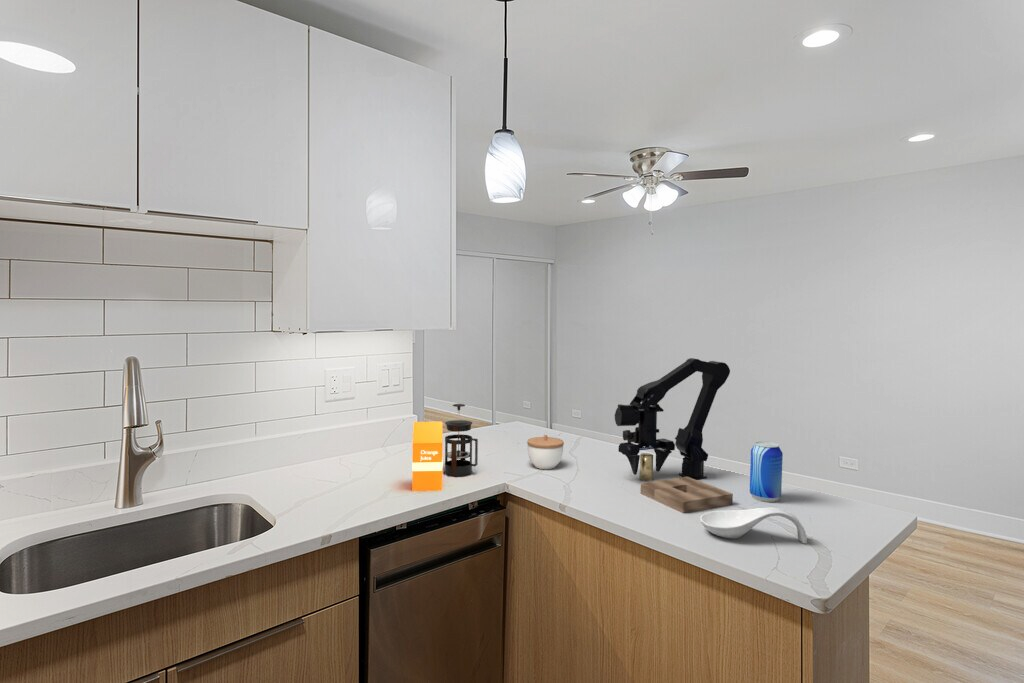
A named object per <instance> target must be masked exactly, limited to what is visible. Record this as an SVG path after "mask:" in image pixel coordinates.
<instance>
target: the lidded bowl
mask: <svg viewBox="0 0 1024 683" xmlns="http://www.w3.org/2000/svg"><path fill="white" fill-rule="evenodd" d="M526 442H527V443H526V444H527V454H528V458H529V460H530V462H531V463H532V465H533V466H534V467H535V468H536V469H538V468H539V470H552V468H553V469H555V468H556V466H558V464H559V463H560V462H561V460H562V458H563V454H564V444H565V442H564V440H563V439H561V438H557V437H553V436H548V434H544V435H543V436H537V437H530V438H529V439H527V441H526Z"/></svg>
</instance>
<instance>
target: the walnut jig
mask: <svg viewBox="0 0 1024 683" xmlns="http://www.w3.org/2000/svg"><path fill="white" fill-rule="evenodd" d="M640 494H641V495H642V496H645V497H647V498H650V499H651V500H653V501H655V502H658V503H659V504H660V503H661V504H662V505H664V506H666V507H669V508H671V509H674V510H676V511H678V512H679V513H682V514H686V513H687V514H688V513H692V511H693V512H697V511H703V510H707V509H713V508H718V507H719V506H720V507H724V506H729V504H731V505H733V500H734V499H733V498H734V497H733V495H734V493H732V492H729V491H727V490H725V489H721V488H718V487H716V486H714V485H710V484H708V483H706V482H703V481H700V480H699V479H696V480H695V479H692V478H690V477H683V476H681V477H677V478H676V477H675V478H669V479H662V480H656V481H647V482H643V483H642V482H641V483H640Z"/></svg>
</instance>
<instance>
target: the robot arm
mask: <svg viewBox="0 0 1024 683" xmlns="http://www.w3.org/2000/svg"><path fill="white" fill-rule="evenodd" d="M696 372H697V373H699V372H700V373H701V380H702V386H701V388H700V391H699V394H698V396H697V399H696V401H695V404H694V407H693V410H692V413H691V414H690V418H689V421H688V423H687V425H686V426H685V427H684V428H681V427H679V428H678V430H677V434H676V436H675V437H674V440H675V442H674V440H670V439H667V438H657V434H659V433H660V429H659V428H657V423H658V421H657V420H658V419H657V418H658V412H659V413H660V412H662V413H663V412H664V410H665V409H663V408H662V407H661V406H660V404H659V402H661V401H662V400H663V399H664V398H665V397H666V394H667V393H668V392H669V391H670V390H671V389H673V388H674V387H676V386H677V385H679V384H680V383H681V382H684V380H686V379H687V378H689V377H690V376H692V375H693V374H695V373H696ZM730 373H731V369H730V367H729V365H728V364H727V363H726V362H723V361H717V360H709V361H705V360H701V359H699V358H694V357H690V358H687V359H686V360H685V361H684V362H683V363H681V364H680V365H678V366H677V367H675V368H674V369H673V370H671V371H670V372H667V374H665V375H663V376H662V377H660V378H659V379H657V380H653V381H651V382H648V383H645V384H644V385H641V386H639V387H638V388H637V390H636V394H635V396H634V397H633V399H632V400H631V401H630V403H629V404H622V403H621V404H620V403H619V404H617V408H616V410H615V413H614V423H615V425H616V426H617V427H630V426H631V427H633V426H634V427H635V426H636V425H637V424H638V426H636V427H635V428H634V429H635V430H634V431H631V430H630V429H627V430H623V431H622V440H623V441H627V442H621V443H619V445H618V452H619V453H621V454H622V455H624V456H625V457H627V460H628V461H629V464H630V467H631V471H632V474H633V475H634V476H636V475H637V474H638V471H639V466H640V455H639V453H640V451H646V450H653V451H654V454H655V471H656V472H658V473H660V471H661V469H662V467H663V465H664V464H665V461H666V460H667V459H668V457H669V455H670V454H672V453H673V451H675V450H676V449H677V450H678V452H679V454H680V456H682V457H683V458H682V462H681V473H680V472H679V473H678V475H679V476H680V475H681V477H690V478H692V479H695V480H702V479H701V478H703V479H707V478H708V476H707V475H705V472H704V470H705V465H704V464H705V462H707V460H708V458H709V454H708V452H706V451H705V450H704V449H703V448H702V446H703V441H704V438H703V429H704V427H705V424H706V422H707V418H708V416H709V414H710V411H711V408H712V405H713V403H714V400H715V397H716V395H717V392H718V391H719V389H720V388H722V386H723V385H724V384H725V383H726V381H727V379H728V378H729V376H730Z"/></svg>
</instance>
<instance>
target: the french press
mask: <svg viewBox="0 0 1024 683" xmlns="http://www.w3.org/2000/svg"><path fill="white" fill-rule="evenodd" d="M452 406H453V407H456V409H457V414H458V415H457V419H458V420H457V419H454V420H448V421H445V422H444V425H446V429H447V431H448V432H455V433H457V434H449V435H446V436H445V437H444V443H445V444H444V471H443V474H444V476H447V477H450V478H451V477H452V478H464V477H468V476H471V475H472V474H473V467H477V466H478V461H479V460H478V458H479V456H478V453H479V452H478V451H479V449H478V446H479V439H478V438H473V436H472V435H469V434H460V432H468V431H471V429H472V425H473V422H472V421H471V420H464V419H460V411H461V407H465V406H466V404H464V403H455V404H452ZM473 441H475V442H474V445H475V448H474V463H473ZM448 444H449V445H451V448H450V449H451V450H450V451H449V450H448V448H449V447H448ZM466 444H469V451H466ZM448 451H449V452H448ZM468 458H469V460H466V459H468ZM448 459H451V460H448Z"/></svg>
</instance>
